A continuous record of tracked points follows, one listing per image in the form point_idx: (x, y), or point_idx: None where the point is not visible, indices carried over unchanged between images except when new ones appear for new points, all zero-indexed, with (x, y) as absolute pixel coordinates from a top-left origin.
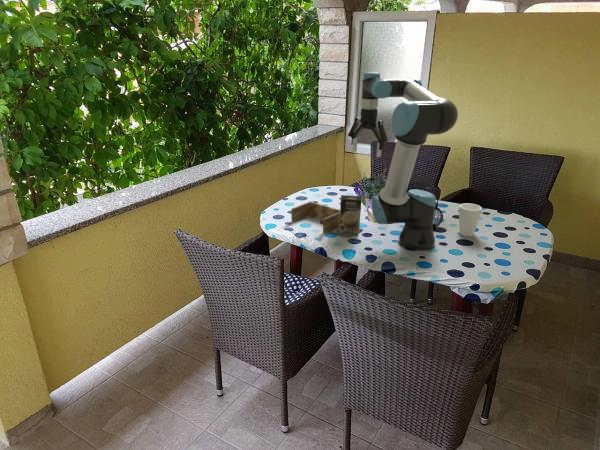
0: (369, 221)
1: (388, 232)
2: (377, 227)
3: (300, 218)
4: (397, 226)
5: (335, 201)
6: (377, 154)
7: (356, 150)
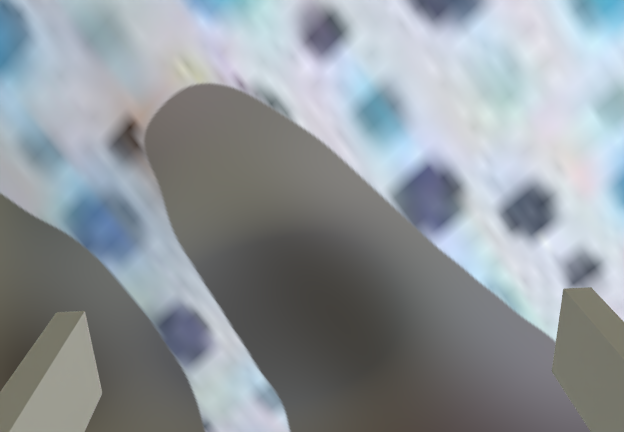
0: (225, 75)
1: (25, 6)
2: (125, 26)
3: None
4: (59, 130)
5: (593, 206)
6: (51, 339)
7: (559, 377)
